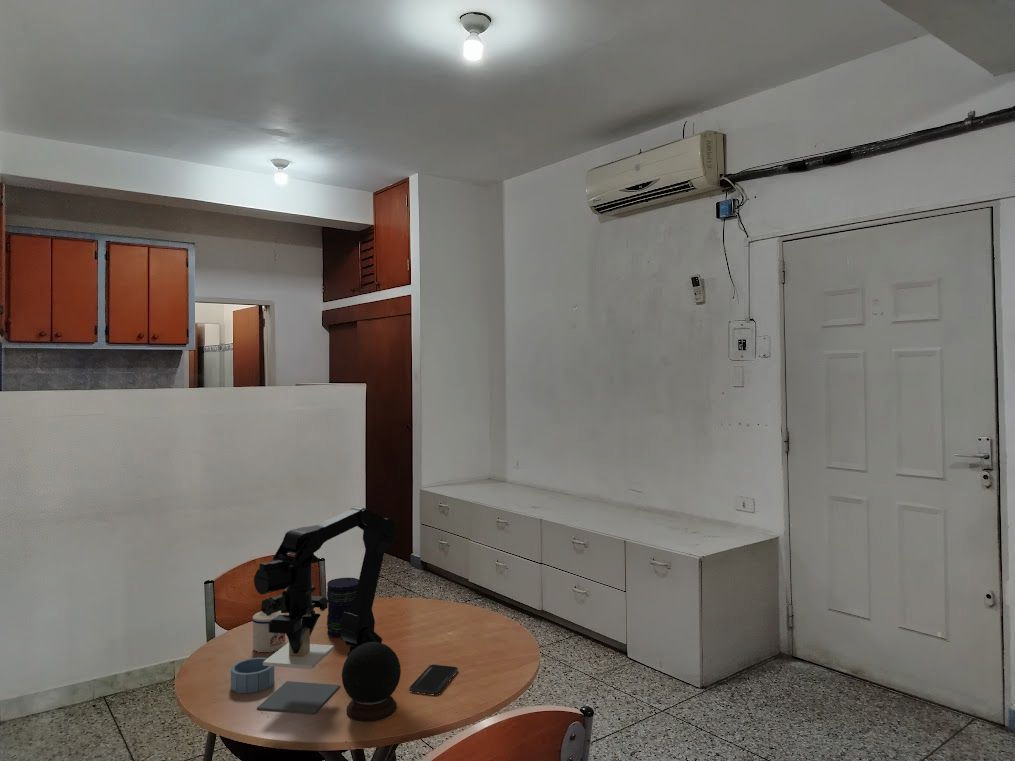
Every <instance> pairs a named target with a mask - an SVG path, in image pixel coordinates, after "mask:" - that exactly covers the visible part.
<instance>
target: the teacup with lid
mask: <svg viewBox="0 0 1015 761" xmlns="http://www.w3.org/2000/svg"><path fill="white" fill-rule="evenodd" d="M278 615H287V613H281V611H278V612H275V613H272V614H271V615H269V616H267V615H266V614H265V613H263V612H262V611H261V610H260V611H259V612H256V613H255V614H254V615H253V616H252V618H251V620H252V650H253V651H254V650H255V652H256V651H257V653H260V652H269V653H274V652H277V650H279V649H281V648H282V647H283V646H284V645H286V634H285V633H269V632H268V623H269V622H270V621H271V620H272V619H274V618H275V617H277V616H278ZM273 651H274V652H273Z"/></svg>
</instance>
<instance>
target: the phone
mask: <svg viewBox="0 0 1015 761" xmlns="http://www.w3.org/2000/svg"><path fill="white" fill-rule="evenodd" d="M457 670H458V671H459V667H456V666H450V665H441V664H430V665H429V666H428V667H427V668H426V669H425V670H424V671H423V672H422V673H421V674H420V675H419V676H418V678H417V679H416V680H415V681H414V682H413V683H412V684H411V685H410V686H409V692H410V691H412V692H419V693H425V694H424V695H427V694H434V695H433V696H438V695H437V694H439V693H440V692H441V691H442V690H443V691H444V689H445V688H446V687H447V686H448V685H447V683H448V682H449V680H450V679H451V678H452V677H453V675H454V674H455V673H456V672H457ZM457 673H458V672H457ZM457 673H456V674H457ZM453 678H454V677H453ZM453 678H452V679H453ZM449 683H450V682H449ZM449 683H448V684H449ZM446 685H447V686H446ZM445 686H446V687H445ZM443 691H442V692H443ZM442 692H441V693H442ZM419 693H418V694H419ZM441 693H440V694H441ZM440 694H439V695H440Z"/></svg>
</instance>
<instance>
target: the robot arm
mask: <svg viewBox="0 0 1015 761" xmlns="http://www.w3.org/2000/svg"><path fill="white" fill-rule="evenodd" d="M355 527H356V528H359V529H361V530H362V532H363V533H362V540H363V544H364V548H365V549H364V550H365V552H364V555H363V556H364V557H363V560H362V564H361V568H360V573H359V576H358V579H359V581H358V586H357V590H356V595H355V599H354V603H353V606H352V608H351V609H350V610H349V611H348V612H343V614H342V620H341V624H340V626H339V628H340V635H341V637H342V638H341V639H343V641H344V643H345V644H344V645H345V646H349V650H348V651H349V652H348V653H347V657H348V656H349V654H350V653H351V652H352V651H353V650H354V649H355V648H357V647H358V646H360V645H362V644H365V643H369V642H379V643H382V642H383V637H381V636H380V635H379V634H378V633H377V632H375V625H376V624H375V623H376V621H375V615H374V613H373V605H374V601H375V596H376V594H377V593H376V592H377V587H378V584H379V578H380V574H381V570H382V566H383V561H384V555H385V553H386V552H387V550H388V549H389V548H390V547H391V546H392V544H393V541H394V539H395V536H396V533H397V525H396V523H395V522H394V520H393V519H391V518H386V517H384V516H383V517H382V516H381V515H378V514H377V513H374V512H372V511H370V510H369V509H368V508H365V507H360V506H354V507H353V506H352V507H351V508H349V509H348V510H346V511H344V512H342V513H340V514H337V515H335V516H333V517H331V518H329V519H326V520H325V521H321V522H320V523H318V524H315V525H310V526H302V527H297V528H293V529H290V530H288V531H286V532H285V534H284V536H283V538H282V542H281V544H280V545H279V547H278V549H277V551H276V553H275V554H274V556H273V557H272V561H269V562H260V563H259V568H258V569H257V570H256V572H255V574H254V577H253V585H254V587H255V590H256V592H257V593H258V594H259V595H267V594H270V593H274V592H278V591H280V590H283V591H282V593H281V594H279V595H276V596H269V597H266V598H264V599H262V600H261V604H260V606H261V607H260V612H261V611H262V612H263V613H265V614H266V615H267V616H269V615H271V614H272V613H275V612H278V611H281V613H286V615H278V616H277V617H275V618H274V619H272V620H271V621H270V622H269V623H268V632H269V633H285V636H286V637H287V639H288V643H289V642H290V645H291V648H292V651H293V653H295V654H297V653H298V652H299V649H300V646H301V643H302V639H303V636H304V632H305V629H306V628H310V637H311V636H312V634H313V631H314V628H315V627H316V625H317V623H318V620H319V618H320V617H321V613H316V611H315V608H318V609H319V611H321V612H324V611H325V610H326V609H327V610H328V600H327V597H325V596H321V595H313V592H314V591H315V592H316V585H313V564H315V563H319V562H320V561H321V559H320V558H319V557H318V556H316V555H315V553H316V552H317V551H319V550H320V549H321V547H322V546H323V544H324V543H326V542H328V541H329V540H332V539H333V538H336V537H337V536H339V535H342V534H343V533H346V532H348V531H350V530H352V529H355ZM288 554H290V555H288ZM292 555H293V556H292ZM382 644H383V643H382Z"/></svg>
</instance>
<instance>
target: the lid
mask: <svg viewBox="0 0 1015 761" xmlns="http://www.w3.org/2000/svg"><path fill="white" fill-rule="evenodd" d="M310 640H311V636H310V628H306V629H305V632H304V636H303V639H302V643H301V646H300V649H299V652H298V653H297V654H295V653H293V651H292V648H291V645H290V642H289V641H288V642H287V643H285V645H284V646H283V647H282V648H281V649H279V650H278V651H274V652H273V654H272V655H270V656H269V657H267V658H268V659H266V660H265V661H264V662H263V666H274V668H275V667H277V668H291V669H292V668H293V669H306V670H313V669H314V668H315V667H316V666H317V665H319V663H321V661H322V660H324V659H325V658H326V657H327V656H328V655H329V654H330V653H331V652H333V650H335V645H332V644H331V645H330V644H314V643H311V642H310Z"/></svg>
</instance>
